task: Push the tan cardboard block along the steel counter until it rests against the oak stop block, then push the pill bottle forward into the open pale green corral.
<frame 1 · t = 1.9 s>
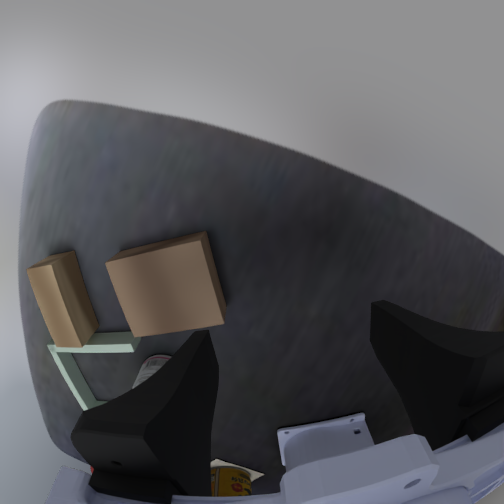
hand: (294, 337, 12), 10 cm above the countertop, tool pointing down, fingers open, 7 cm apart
corral: (111, 374, 24), on the countertop
condiment: (223, 475, 30), on the countertop
stop block: (73, 291, 22), on the countertop
pill bottle: (167, 372, 24), on the countertop
tan cardboard block: (172, 277, 22), on the countertop
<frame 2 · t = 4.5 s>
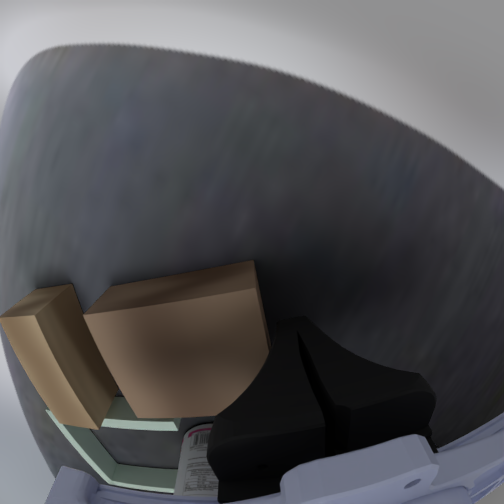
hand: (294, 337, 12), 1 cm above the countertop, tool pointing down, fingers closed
corral: (138, 441, 17), on the countertop
stop block: (75, 342, 14), on the countertop
pill bottle: (219, 439, 17), on the countertop
tan cardboard block: (194, 330, 14), on the countertop, touching gripper
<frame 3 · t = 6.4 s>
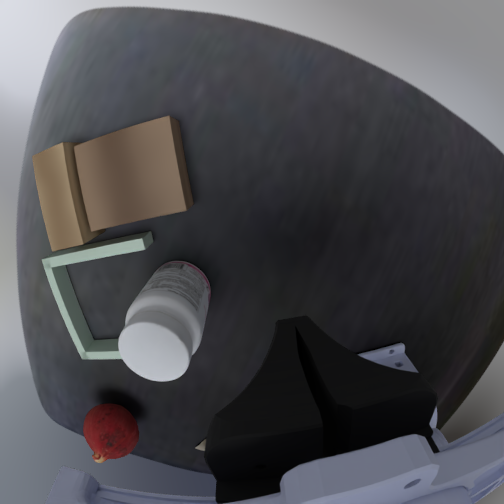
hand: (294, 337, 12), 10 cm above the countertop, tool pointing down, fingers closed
corral: (114, 297, 22), on the countertop
stop block: (79, 191, 19), on the countertop
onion: (121, 405, 26), on the countertop
pill bottle: (181, 287, 22), on the countertop
tan cardboard block: (140, 173, 20), on the countertop
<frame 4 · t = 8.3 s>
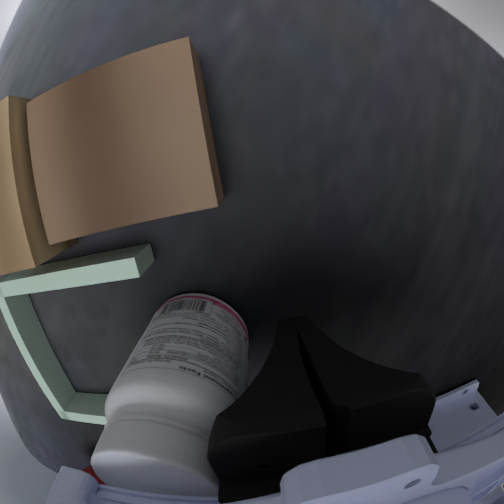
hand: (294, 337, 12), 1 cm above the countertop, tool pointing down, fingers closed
corral: (97, 342, 14), on the countertop
stop block: (41, 180, 11), on the countertop
pill bottle: (201, 332, 14), on the countertop, touching gripper
tan cardboard block: (134, 146, 11), on the countertop
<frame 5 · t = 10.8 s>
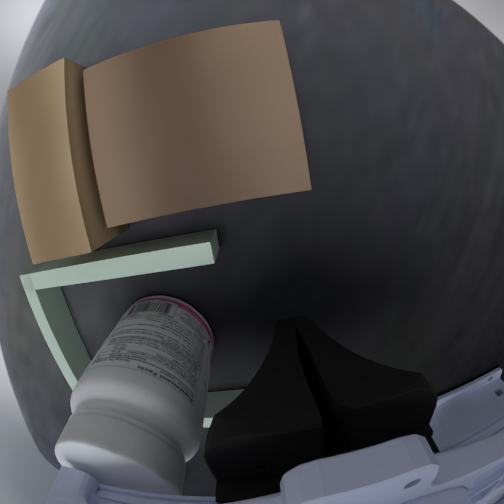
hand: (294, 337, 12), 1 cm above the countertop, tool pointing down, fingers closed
corral: (142, 337, 14), on the countertop
stop block: (85, 159, 11), on the countertop
pill bottle: (168, 333, 14), on the countertop
tan cardboard block: (200, 127, 11), on the countertop
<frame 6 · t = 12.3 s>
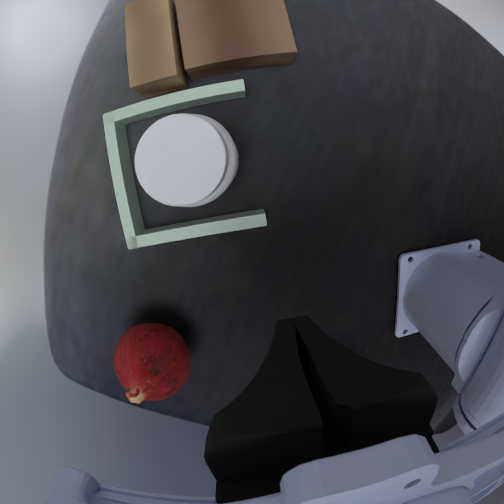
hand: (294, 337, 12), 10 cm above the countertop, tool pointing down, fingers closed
corral: (185, 164, 19), on the countertop
stop block: (162, 52, 17), on the countertop
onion: (164, 333, 24), on the countertop
pill bottle: (205, 161, 20), on the countertop
tan cardboard block: (235, 37, 17), on the countertop
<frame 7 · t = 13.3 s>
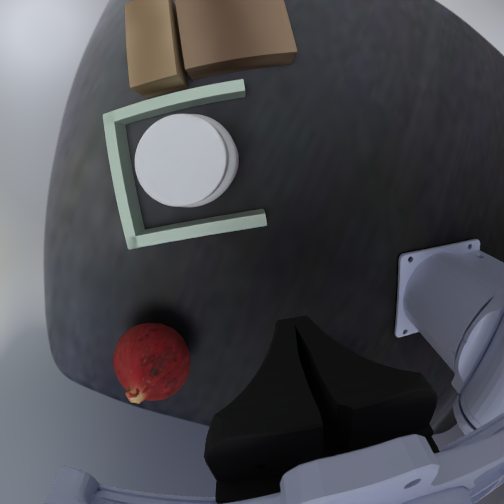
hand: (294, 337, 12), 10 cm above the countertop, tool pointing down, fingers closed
corral: (185, 164, 19), on the countertop
stop block: (162, 52, 17), on the countertop
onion: (164, 333, 24), on the countertop
pill bottle: (205, 161, 20), on the countertop
tan cardboard block: (235, 37, 17), on the countertop
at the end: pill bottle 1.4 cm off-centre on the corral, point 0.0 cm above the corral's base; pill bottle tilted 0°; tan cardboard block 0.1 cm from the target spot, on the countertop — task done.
